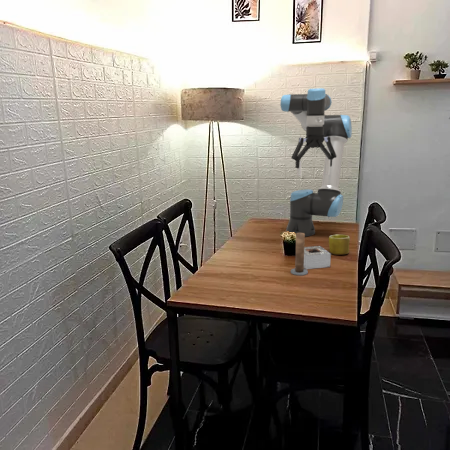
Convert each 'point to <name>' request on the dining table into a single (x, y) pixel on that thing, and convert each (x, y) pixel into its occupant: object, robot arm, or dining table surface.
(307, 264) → the grey square block
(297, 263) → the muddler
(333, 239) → the mug
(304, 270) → the coaster
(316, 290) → the dining table surface
